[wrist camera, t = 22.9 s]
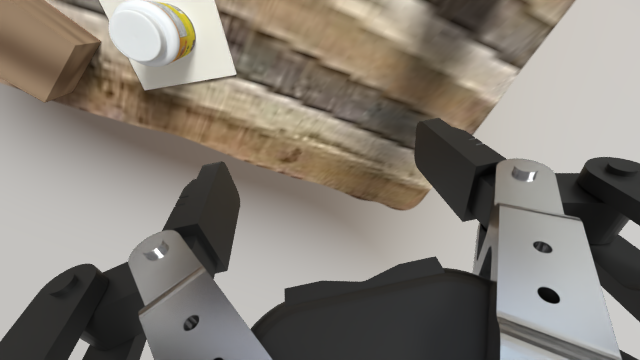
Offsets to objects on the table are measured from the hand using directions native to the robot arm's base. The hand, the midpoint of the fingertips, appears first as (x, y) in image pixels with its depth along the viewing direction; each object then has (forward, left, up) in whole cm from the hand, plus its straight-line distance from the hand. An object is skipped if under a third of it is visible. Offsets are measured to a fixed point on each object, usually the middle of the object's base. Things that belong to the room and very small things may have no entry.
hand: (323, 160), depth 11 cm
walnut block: (+26, -5, -29) cm, 39 cm away
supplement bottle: (+13, -5, -28) cm, 32 cm away
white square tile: (+13, -5, -29) cm, 32 cm away
